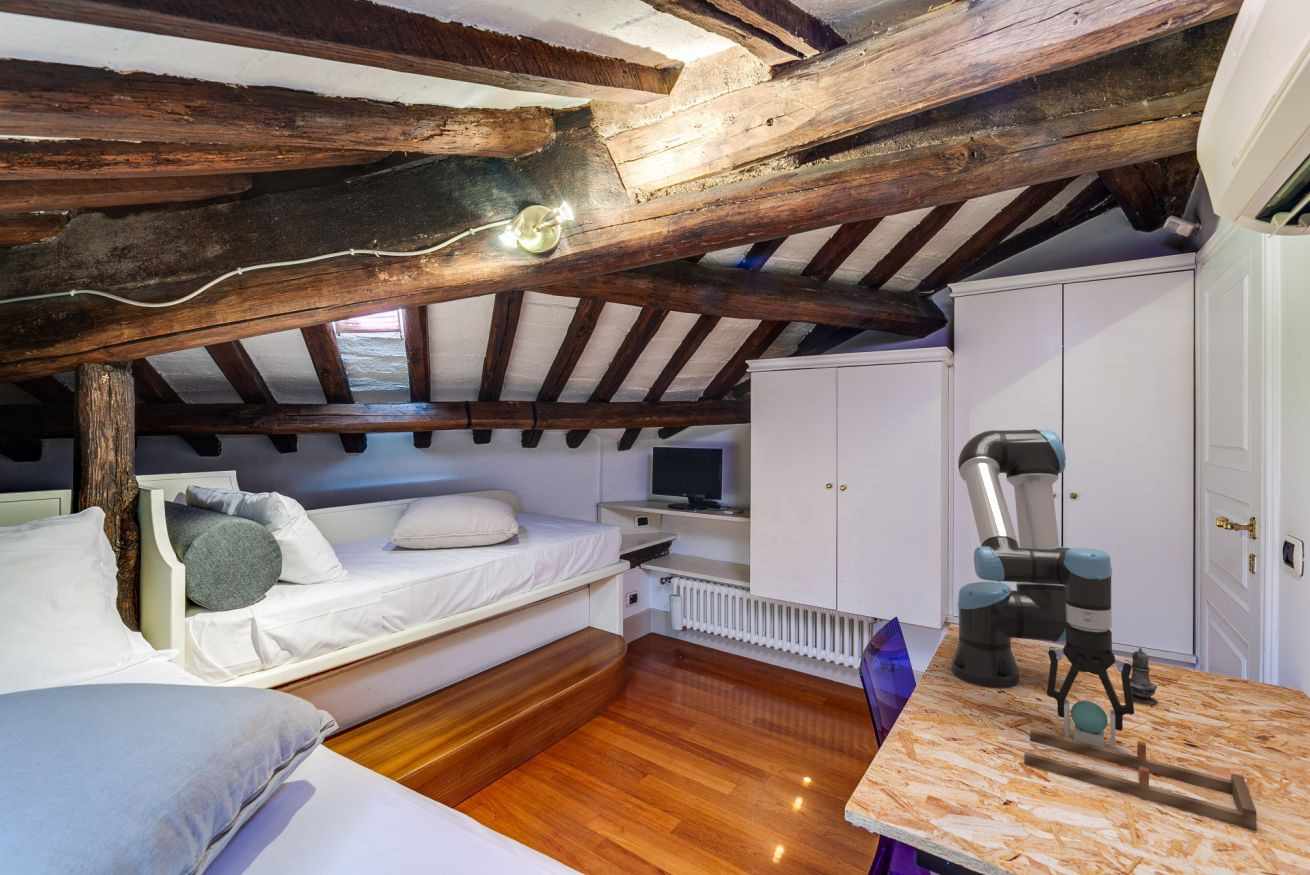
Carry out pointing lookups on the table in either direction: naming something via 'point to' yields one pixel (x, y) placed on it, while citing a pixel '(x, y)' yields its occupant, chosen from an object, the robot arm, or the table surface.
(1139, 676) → the dark grey chess piece
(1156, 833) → the table surface
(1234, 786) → the lane
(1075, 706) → the ball
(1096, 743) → the white square frame
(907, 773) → the table surface
